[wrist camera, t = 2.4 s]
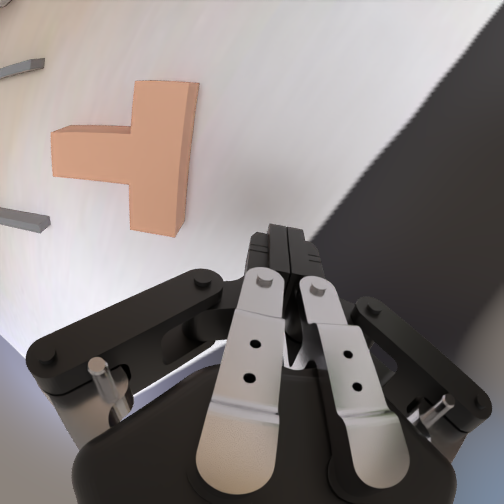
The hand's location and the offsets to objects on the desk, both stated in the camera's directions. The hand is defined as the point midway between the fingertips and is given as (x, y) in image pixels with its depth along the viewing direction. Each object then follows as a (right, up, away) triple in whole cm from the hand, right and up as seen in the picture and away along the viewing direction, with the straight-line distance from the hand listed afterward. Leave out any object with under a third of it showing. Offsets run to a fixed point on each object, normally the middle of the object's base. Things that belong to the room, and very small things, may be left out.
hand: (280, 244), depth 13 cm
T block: (-12, +8, +9) cm, 17 cm away
